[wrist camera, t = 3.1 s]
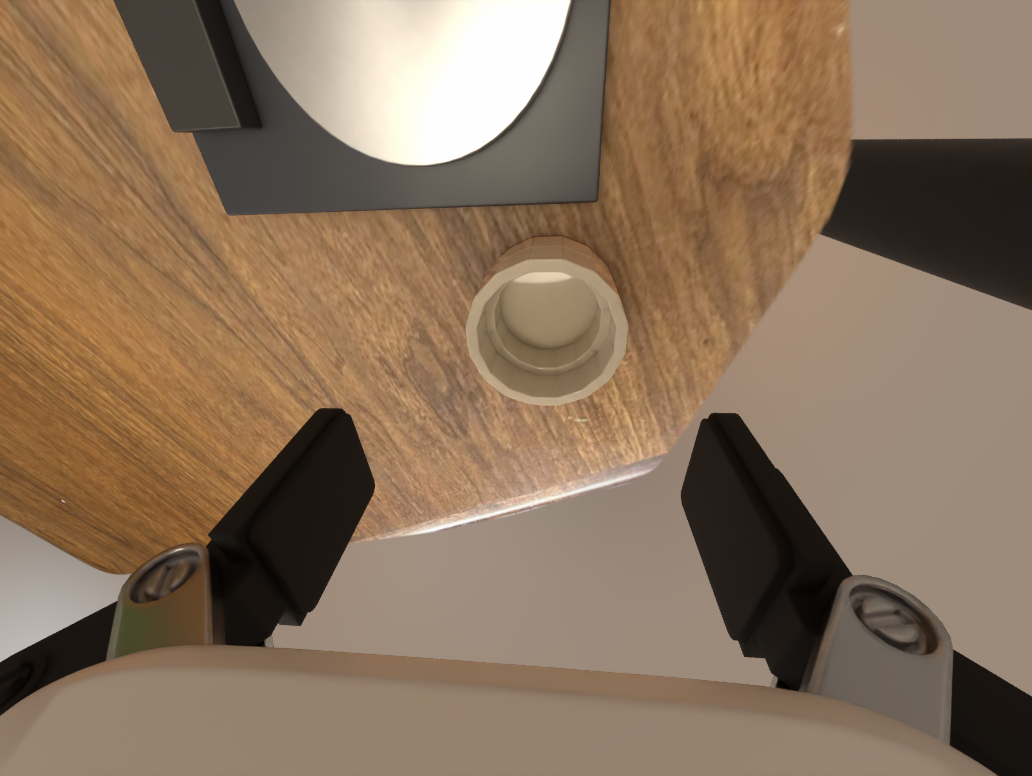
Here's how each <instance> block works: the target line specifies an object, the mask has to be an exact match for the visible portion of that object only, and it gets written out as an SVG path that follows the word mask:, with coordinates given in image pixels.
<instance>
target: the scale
mask: <svg viewBox="0 0 1032 776" xmlns="http://www.w3.org/2000/svg"><path fill="white" fill-rule="evenodd" d="M114 2H115V5H116V7H117V9H118V11H119V14H120V16H121V18H122V20H123V22H124V25H125V27H126V29H127V31H128V34H129V36H130V38H131V40H132V42H133V45H134V47H135V49H136V51H137V53H138V56H139V58H140V60H141V62H142V65H143V67H144V69H145V71H146V73H147V76H148V78H149V80H150V82H151V85H152V87H153V89H154V91H155V93H156V96H157V98H158V100H159V102H160V104H161V107H162V109H163V111H164V113H165V116H166V118H167V120H168V122H169V124H170V127H171V129H172V131H174V132H185V133H193V136H194V138H195V140H196V143H197V145H198V147H199V150H200V152H201V154H202V157H203V159H204V161H205V164H206V166H207V168H208V171H209V173H210V175H211V178H212V180H213V182H214V185H215V187H216V189H217V192H218V194H219V196H220V199H221V201H222V203H223V206H224V208H225V210H226V213H227V214H228V215H230V216H231V215H259V214H286V213H314V212H341V211H369V210H396V209H424V208H451V207H479V206H506V205H534V204H561V203H589V202H597V200H598V187H599V172H600V157H601V142H602V127H603V112H604V97H605V82H606V67H607V52H608V37H609V22H610V7H611V0H114Z"/></svg>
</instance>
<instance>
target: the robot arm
mask: <svg viewBox="0 0 1032 776" xmlns="http://www.w3.org/2000/svg"><path fill="white" fill-rule="evenodd" d="M374 489H375V482H374V479H373V476H372V473H371V470H370V467H369V465H368V462H367V459H366V456H365V454H364V451H363V448H362V445H361V442H360V440H359V437H358V434H357V431H356V428H355V426H354V423H353V420H352V418H351V416H350V415H349V414H346V413H345V411H344V410H343V409H340V408H321V409H318V410H317V411H316V412H315V413H314V414H313V415H312V417H311V418H310V419H309V420H308V421H307V422H306V423H305V425H304V426H303V427H302V428H301V429H300V430H299V431H298V433H297V434H296V435H295V436H294V437H293V438H292V439H291V441H290V442H289V443H288V444H287V445H286V446H285V447H284V448H283V450H282V451H281V452H280V453H279V454H278V455H277V456H276V458H275V459H274V460H273V461H272V462H271V463H270V464H269V466H268V467H267V468H266V469H265V470H264V471H263V472H262V474H261V475H260V476H259V477H258V478H257V479H256V480H255V482H254V483H253V484H252V485H251V486H250V487H249V488H248V490H247V491H246V492H245V493H244V494H243V495H242V496H241V498H240V499H239V500H238V501H237V502H236V503H235V504H234V506H233V507H232V508H231V509H230V510H229V511H228V512H227V514H226V515H225V516H224V517H223V518H222V519H221V520H220V522H219V523H218V524H217V525H216V526H215V527H214V528H213V530H212V531H211V532H210V533H209V534H208V535H209V537H210V538H211V539H212V540H211V541H210V542H209V544H208V545H207V546H206V547H205V546H203V545H202V544H200V543H193V542H191V543H185V544H180V545H177V546H174V547H171V548H168V549H166V550H164V551H162V552H161V553H159V554H157V555H155V556H153V557H152V558H151V559H149V560H148V561H146V562H145V563H144V564H142V565H141V566H140V567H139V568H138V569H137V570H136V571H135V572H134V573H133V574H131V576H130V577H129V578H128V580H127V581H126V582H125V584H124V585H123V586H122V589H121V591H120V594H119V596H118V601H116V602H114V603H113V604H111V605H109V606H107V607H105V608H103V609H101V610H99V611H97V612H95V613H93V614H91V615H89V616H87V617H85V618H83V619H81V620H79V621H78V622H76V623H74V624H72V625H70V626H68V627H66V628H64V629H62V630H60V631H58V632H56V633H54V634H52V635H50V636H48V637H47V638H45V639H43V640H41V641H39V642H37V643H35V644H33V645H31V646H29V647H27V648H25V649H23V650H21V651H19V652H17V653H16V654H14V655H12V656H10V657H8V658H7V659H5V660H3V661H2V662H0V776H1032V696H1030V695H1028V694H1026V693H1025V692H1023V691H1021V690H1020V689H1018V688H1017V687H1015V686H1013V685H1012V684H1010V683H1008V682H1007V681H1005V680H1003V679H1002V678H1000V677H998V676H997V675H995V674H993V673H992V672H990V671H988V670H987V669H985V668H983V667H982V666H980V665H978V664H977V663H975V662H973V661H972V660H970V659H968V658H967V657H965V656H963V655H962V654H960V653H958V652H957V651H955V650H953V647H952V642H951V638H950V636H949V634H948V632H947V630H946V629H945V627H944V625H943V624H942V622H941V621H940V620H939V619H938V618H937V616H936V615H935V614H934V613H933V612H932V611H931V610H930V609H929V608H928V607H927V606H926V605H925V604H923V603H922V602H921V601H920V600H918V599H917V598H916V597H915V596H913V595H912V594H910V593H909V592H907V591H905V590H903V589H902V588H900V587H899V586H897V585H895V584H892V583H890V582H887V581H885V580H882V579H880V578H876V577H871V576H866V575H857V576H856V575H855V576H853V575H852V574H851V572H850V571H849V569H848V568H847V566H846V565H845V563H844V562H843V561H842V559H841V558H840V556H839V555H838V553H837V552H836V550H835V549H834V548H833V546H832V545H831V543H830V542H829V540H828V539H827V538H826V536H825V535H824V533H823V532H822V530H821V529H820V527H819V526H818V525H817V523H816V522H815V520H814V519H813V517H812V516H811V514H810V513H809V512H808V510H807V509H806V507H805V506H804V504H803V503H802V502H801V500H800V499H799V497H798V496H797V494H796V493H795V491H794V490H793V488H792V487H791V485H790V484H789V483H788V481H787V480H786V478H785V477H784V475H783V474H782V473H781V472H780V471H779V470H778V469H777V468H775V467H774V465H773V464H772V463H771V461H770V460H769V458H768V457H767V455H766V454H765V452H764V451H763V449H762V448H761V446H760V445H759V443H758V442H757V441H756V439H755V438H754V436H753V435H752V433H751V432H750V430H749V429H748V427H747V426H746V425H745V423H744V422H743V420H742V419H741V417H740V416H739V415H738V414H736V413H712V414H710V415H709V417H708V419H703V420H702V421H701V423H700V427H699V430H698V434H697V437H696V441H695V444H694V448H693V451H692V455H691V458H690V462H689V466H688V469H687V473H686V476H685V480H684V483H683V487H682V490H681V501H682V506H683V508H684V511H685V514H686V517H687V520H688V522H689V525H690V528H691V531H692V534H693V536H694V539H695V542H696V544H697V547H698V550H699V553H700V556H701V559H702V561H703V564H704V567H705V570H706V573H707V575H708V578H709V581H710V584H711V587H712V589H713V592H714V595H715V598H716V601H717V603H718V606H719V609H720V612H721V615H722V617H723V620H724V623H725V626H726V628H727V631H728V633H729V635H730V637H731V638H732V639H733V640H737V641H739V644H740V647H741V650H742V652H743V655H744V657H754V658H765V659H766V662H767V664H768V667H769V669H770V671H771V673H772V674H773V675H774V677H773V680H772V683H771V686H770V687H766V686H757V685H747V684H737V683H726V682H717V681H706V680H696V679H685V678H675V677H664V676H650V675H639V674H626V673H614V672H601V671H589V670H575V669H563V668H552V667H551V668H550V667H538V666H525V665H512V664H499V663H486V662H472V661H459V660H445V659H433V658H418V657H406V656H391V655H376V654H362V653H348V652H334V651H320V650H304V649H290V648H274V646H273V639H272V632H273V631H274V629H275V627H276V625H277V624H280V625H292V626H301V624H302V622H303V621H304V618H305V617H306V615H307V613H308V612H311V611H312V610H313V609H314V608H315V607H316V605H317V604H318V601H319V600H320V598H321V596H322V594H323V592H324V590H325V588H326V586H327V584H328V582H329V580H330V578H331V576H332V574H333V572H334V570H335V568H336V566H337V564H338V562H339V560H340V558H341V556H342V554H343V552H344V551H345V548H346V547H347V545H348V543H349V541H350V539H351V537H352V535H353V533H354V531H355V529H356V527H357V525H358V523H359V521H360V519H361V517H362V515H363V513H364V511H365V509H366V507H367V505H368V503H369V501H370V499H371V497H372V495H373V493H374Z"/></svg>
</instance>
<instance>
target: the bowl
mask: <svg viewBox="0 0 1032 776" xmlns="http://www.w3.org/2000/svg"><path fill="white" fill-rule="evenodd" d="M628 325H629V324H628V321H627V318H626V315H625V312H624V309H623V306H622V303H621V300H620V297H619V294H618V292H617V289H616V286H615V284H614V281H613V278H612V276H611V273H610V271H609V269H608V266H607V265H606V264H605V263H604V262H603V261H602V260H601V259H600V258H599V257H598V256H597V255H596V254H595V253H594V252H593V250H592V249H591V248H588V247H587V246H585V245H583V244H580V243H578V242H575V241H573V240H571V239H568V238H566V237H563V238H562V236H549V237H534V238H530V239H528V240H526V241H524V242H522V243H519V244H517V245H515V246H513V247H511V248H509V249H508V250H507V251H505V253H504V254H503V255H502V256H501V257H500V258H499V259H498V261H497V262H496V263H495V264H494V265H493V266H492V267H491V269H490V270H489V272H488V274H487V276H486V277H485V279H484V281H483V283H482V285H481V286H480V288H479V290H478V292H477V294H476V295H475V297H474V299H473V302H472V306H471V309H470V312H469V315H468V319H467V322H466V327H465V328H466V336H467V343H468V351H469V355H470V357H471V359H472V360H473V362H474V364H475V365H476V367H477V369H478V371H479V372H480V374H481V376H482V377H483V378H484V380H486V381H487V382H488V383H489V384H491V385H492V386H493V387H494V388H496V389H497V390H498V391H499V392H501V393H502V394H503V395H505V396H507V397H509V398H512V399H515V400H518V401H521V402H523V403H526V404H529V405H531V404H532V405H546V406H559V405H564V404H567V403H570V402H573V401H577V400H580V399H583V398H586V397H588V396H589V395H591V394H592V393H593V392H595V391H596V390H597V389H599V388H600V387H601V386H603V385H604V384H605V383H607V382H608V381H609V380H610V379H611V378H612V376H613V374H614V373H615V371H616V369H617V368H618V366H619V364H620V363H621V361H622V360H623V358H624V356H625V353H626V345H627V338H628V330H629V326H628Z"/></svg>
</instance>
